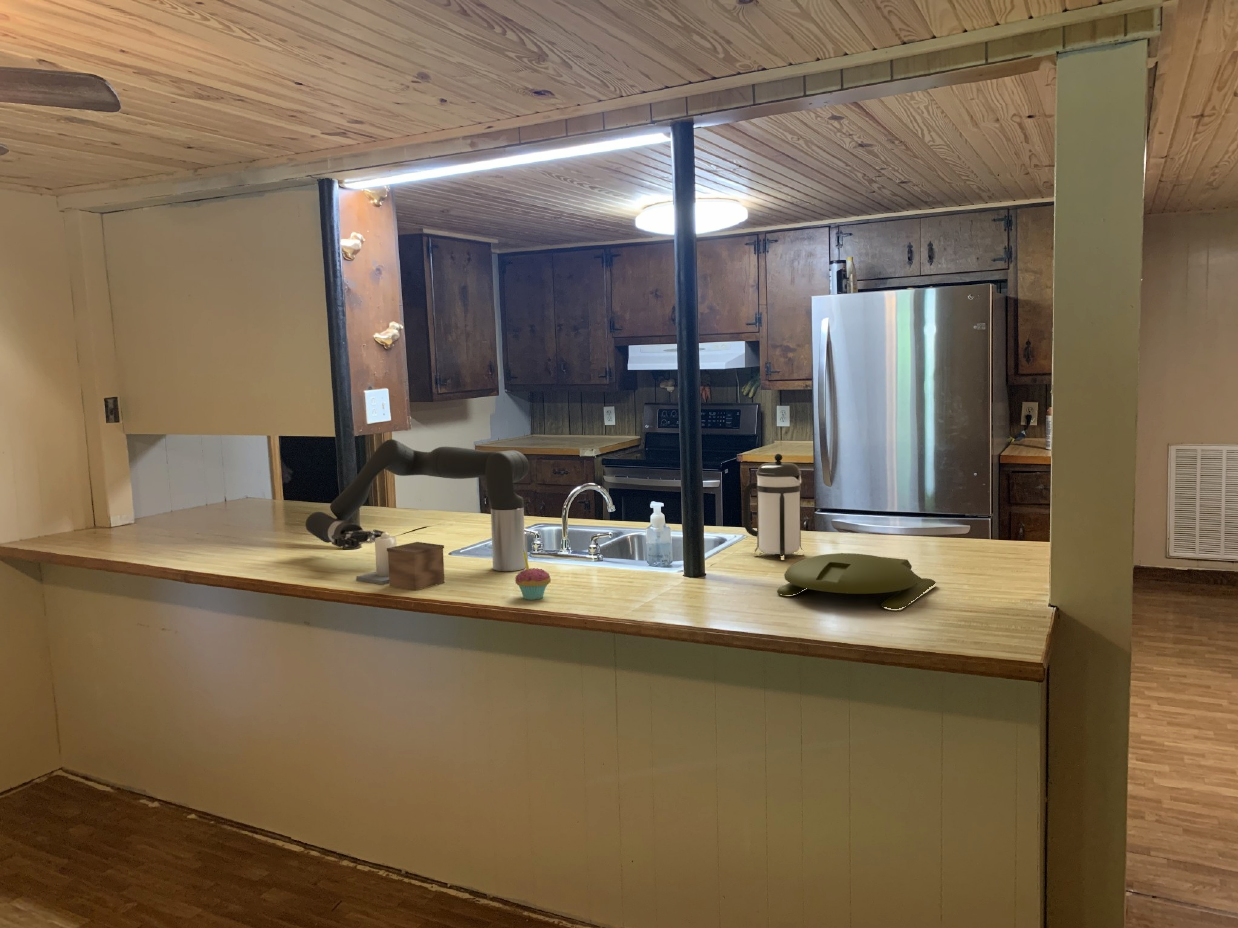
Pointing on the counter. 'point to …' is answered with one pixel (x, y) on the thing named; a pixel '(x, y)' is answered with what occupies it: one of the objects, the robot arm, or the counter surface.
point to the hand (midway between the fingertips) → (369, 541)
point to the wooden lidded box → (416, 565)
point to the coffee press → (776, 507)
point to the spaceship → (857, 577)
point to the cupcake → (532, 581)
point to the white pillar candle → (383, 553)
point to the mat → (373, 578)
